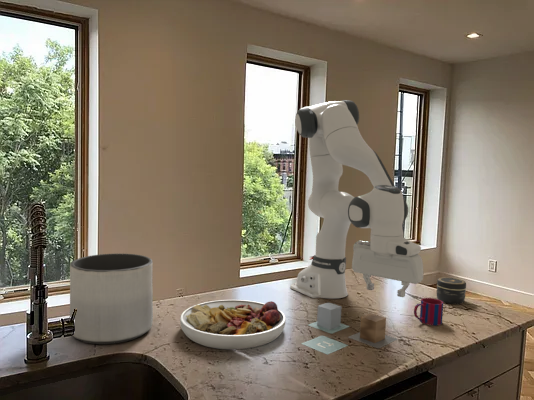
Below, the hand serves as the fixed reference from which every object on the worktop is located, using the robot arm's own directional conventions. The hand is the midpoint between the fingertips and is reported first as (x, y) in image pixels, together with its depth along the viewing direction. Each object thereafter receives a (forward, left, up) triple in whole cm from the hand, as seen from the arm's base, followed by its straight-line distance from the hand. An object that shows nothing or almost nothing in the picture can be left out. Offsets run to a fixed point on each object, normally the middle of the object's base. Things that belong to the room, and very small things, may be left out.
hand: (385, 293), depth 126 cm
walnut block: (-2, -3, -13) cm, 13 cm away
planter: (-54, -55, -14) cm, 78 cm away
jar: (-4, +52, -14) cm, 54 cm away
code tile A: (-8, -17, -14) cm, 23 cm away
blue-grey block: (-16, -5, -13) cm, 21 cm away
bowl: (-32, -29, -14) cm, 45 cm away
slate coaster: (-2, -3, -14) cm, 14 cm away
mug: (+1, +23, -14) cm, 27 cm away
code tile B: (-16, -5, -14) cm, 21 cm away
